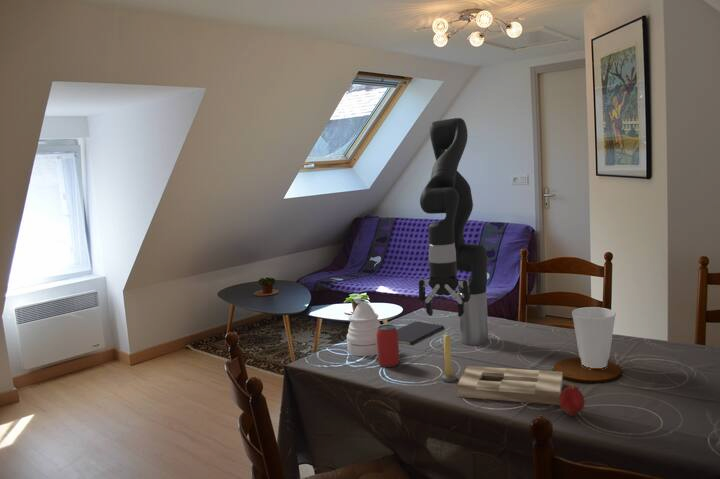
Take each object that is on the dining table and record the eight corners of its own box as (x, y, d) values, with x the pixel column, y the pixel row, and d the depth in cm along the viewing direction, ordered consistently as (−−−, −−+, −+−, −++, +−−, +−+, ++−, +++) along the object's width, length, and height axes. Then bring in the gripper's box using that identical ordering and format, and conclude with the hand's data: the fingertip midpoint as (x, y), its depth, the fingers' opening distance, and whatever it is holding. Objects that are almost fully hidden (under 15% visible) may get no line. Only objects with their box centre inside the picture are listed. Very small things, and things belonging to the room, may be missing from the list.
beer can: (398, 367, 188) (395, 330, 187) (377, 367, 190) (374, 330, 188) (400, 360, 195) (398, 323, 193) (380, 360, 196) (378, 324, 194)
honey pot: (341, 355, 204) (337, 302, 201) (355, 342, 216) (351, 292, 213) (378, 357, 199) (374, 303, 197) (390, 344, 211) (386, 293, 209)
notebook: (410, 346, 209) (444, 329, 225) (410, 342, 209) (443, 325, 225) (381, 340, 217) (415, 325, 233) (381, 336, 217) (415, 321, 233)
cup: (622, 363, 179) (622, 310, 177) (606, 376, 171) (606, 320, 168) (582, 356, 187) (581, 305, 185) (565, 367, 179) (564, 314, 176)
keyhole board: (467, 377, 177) (467, 366, 176) (562, 383, 167) (562, 371, 167) (457, 396, 164) (457, 384, 163) (560, 404, 155) (559, 392, 154)
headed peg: (443, 376, 179) (441, 333, 177) (457, 377, 177) (455, 333, 176) (440, 381, 175) (437, 337, 173) (454, 382, 174) (452, 338, 172)
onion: (555, 411, 151) (554, 380, 150) (578, 409, 151) (577, 378, 150) (565, 421, 145) (564, 389, 144) (588, 419, 146) (588, 387, 145)
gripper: (470, 256, 172) (472, 312, 174) (421, 256, 177) (424, 311, 180) (465, 262, 165) (467, 320, 168) (414, 261, 170) (417, 318, 173)
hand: (445, 315), depth 174 cm, fingers open, 8 cm apart
